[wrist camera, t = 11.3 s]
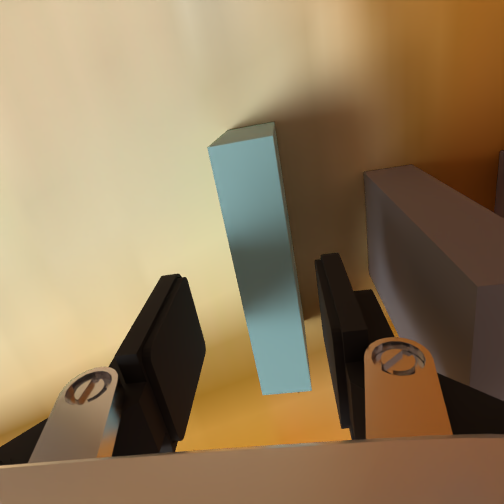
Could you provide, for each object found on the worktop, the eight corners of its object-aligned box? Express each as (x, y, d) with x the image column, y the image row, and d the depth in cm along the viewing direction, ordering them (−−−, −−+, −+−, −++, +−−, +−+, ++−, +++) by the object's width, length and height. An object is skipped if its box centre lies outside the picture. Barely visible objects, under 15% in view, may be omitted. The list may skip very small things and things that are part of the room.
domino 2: (368, 273, 18) (462, 467, 9) (363, 171, 16) (477, 286, 7) (411, 268, 18) (554, 463, 9) (411, 164, 16) (597, 273, 7)
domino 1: (227, 129, 16) (266, 323, 20) (207, 147, 11) (262, 395, 15) (274, 121, 15) (303, 319, 19) (272, 135, 11) (311, 390, 15)
